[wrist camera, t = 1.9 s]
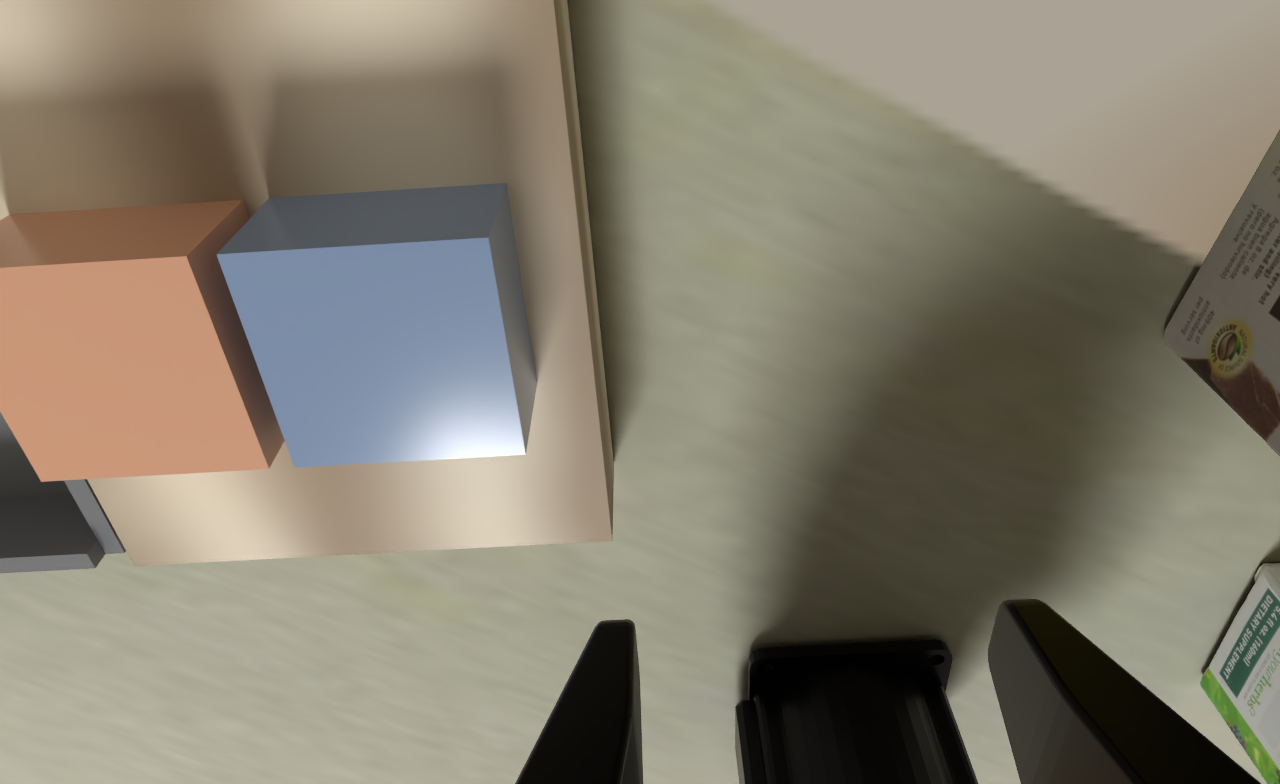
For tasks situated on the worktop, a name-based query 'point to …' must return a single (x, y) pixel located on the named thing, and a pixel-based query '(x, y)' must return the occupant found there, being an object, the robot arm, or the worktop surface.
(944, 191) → the worktop surface
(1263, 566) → the syrup box
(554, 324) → the birch board
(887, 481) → the worktop surface
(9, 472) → the charcoal tray
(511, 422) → the blue-glazed tile
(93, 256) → the terracotta tile
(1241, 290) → the coffee box
